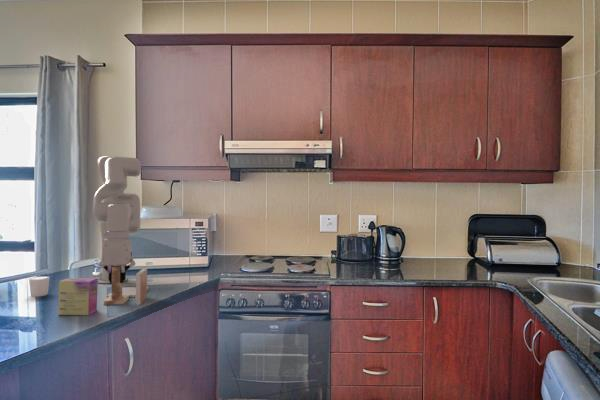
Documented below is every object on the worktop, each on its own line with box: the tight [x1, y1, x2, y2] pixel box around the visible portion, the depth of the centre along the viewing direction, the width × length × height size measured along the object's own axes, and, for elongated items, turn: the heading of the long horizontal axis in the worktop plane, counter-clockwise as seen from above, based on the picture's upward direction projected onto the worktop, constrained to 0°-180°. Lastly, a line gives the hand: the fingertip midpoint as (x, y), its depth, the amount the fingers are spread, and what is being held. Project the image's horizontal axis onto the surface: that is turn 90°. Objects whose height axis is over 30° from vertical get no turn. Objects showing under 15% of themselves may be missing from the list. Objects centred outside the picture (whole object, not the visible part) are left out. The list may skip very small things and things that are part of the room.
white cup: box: [28, 275, 51, 298], centre depth 145 cm, size 7×7×7 cm
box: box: [57, 277, 99, 316], centre depth 124 cm, size 10×6×12 cm, turn 92°
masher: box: [103, 265, 130, 306], centre depth 138 cm, size 7×7×14 cm
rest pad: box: [106, 286, 150, 299], centre depth 150 cm, size 13×13×1 cm
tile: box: [135, 267, 148, 305], centre depth 139 cm, size 2×10×12 cm, turn 10°
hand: (117, 281), depth 138 cm, fingers closed on masher, 3 cm apart
